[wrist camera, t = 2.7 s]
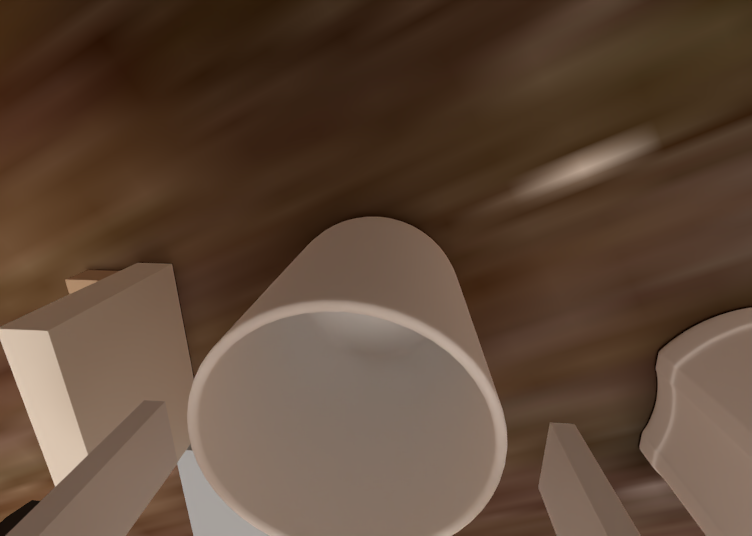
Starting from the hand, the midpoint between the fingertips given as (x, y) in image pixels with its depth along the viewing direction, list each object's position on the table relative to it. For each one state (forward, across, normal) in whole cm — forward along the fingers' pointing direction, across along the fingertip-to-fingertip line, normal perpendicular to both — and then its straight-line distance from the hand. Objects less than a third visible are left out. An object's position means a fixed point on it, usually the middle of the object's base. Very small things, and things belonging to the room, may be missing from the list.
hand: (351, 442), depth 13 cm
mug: (+8, 0, +1) cm, 9 cm away
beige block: (+8, -13, -2) cm, 16 cm away
